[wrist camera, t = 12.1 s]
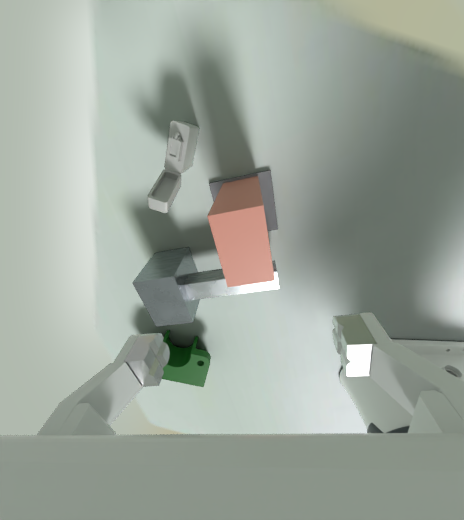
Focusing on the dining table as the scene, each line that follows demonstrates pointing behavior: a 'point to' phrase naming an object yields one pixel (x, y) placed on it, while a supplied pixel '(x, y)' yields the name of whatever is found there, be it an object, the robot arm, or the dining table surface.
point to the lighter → (174, 165)
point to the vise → (184, 286)
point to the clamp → (186, 363)
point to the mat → (266, 193)
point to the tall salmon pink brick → (241, 233)
